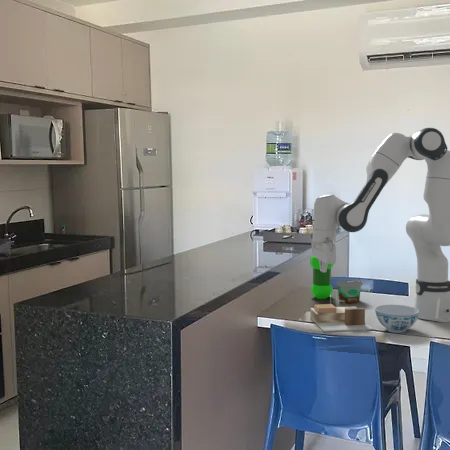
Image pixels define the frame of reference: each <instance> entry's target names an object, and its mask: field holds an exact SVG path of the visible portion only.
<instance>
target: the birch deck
mask: <svg viewBox="0 0 450 450" xmlns="http://www.w3.org/2000/svg"><path fill="white" fill-rule="evenodd" d="M335 307H336V308H337V312H334V313H318V312H317V311H316V310H315V309H314V307H310V309H309V311H310V312H309V313H310V315H309V316H310V317H309V318H310V319H311V320H312V321H313V323H314V324H316V323H329V322H345V308H358V307H357V306H356V305H355V306H335Z"/></svg>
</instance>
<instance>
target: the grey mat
mask: <svg viewBox="0 0 450 450" xmlns="http://www.w3.org/2000/svg"><path fill="white" fill-rule="evenodd" d="M315 324H316V326H317V327H318V328H320V330H321V331H322V332H324V333H327V332H328V333H330V332H331V333H332V332H353V331H354V332H355V331H356V332H358V331H373V330H374V329H373V327H372V326H370V325H369V324H368V323H366V322H365V325H349V326H346V325H345V322H329V323H315Z"/></svg>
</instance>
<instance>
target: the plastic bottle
mask: <svg viewBox="0 0 450 450" xmlns="http://www.w3.org/2000/svg"><path fill="white" fill-rule="evenodd" d="M309 262H310V266H311V267H312V284H311V287H310V292H311V294H312V295H313V296H314V297H315V298H316V299H317V300H326V299H328V298H329V297H331V295H332V294H333V292H334V288H333V286H332V268H333V267H334V265H335V264H328V266H327V272H321V271H320V264H319V259H317V258H315V257H313V255H311V257H310V259H309Z"/></svg>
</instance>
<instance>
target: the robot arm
mask: <svg viewBox="0 0 450 450" xmlns="http://www.w3.org/2000/svg"><path fill="white" fill-rule="evenodd" d="M408 158H409V159H412V160H415V161H423V160H424V161H425V163H426V165H427V170H426V171H427V172H426V177H425V182H424V183H425V184H424V189H423V190H424V191H423V201H425V202H426V204H427V207H428V212H429V214H418V215H414V216H412V217H410V218H409V219H407V222H406V224H405V231H406V234H407V235H408V237H409V239H410V240H411V242H412V244H413V248H414V250H415V255H416V263H417V267H416V268H417V271H416V272H417V273H416V279H415V302H414V306H413V308H416V309H418V310H419V315H418V318H417V319H421V320H425V321H426V320H427V321H435V322H439V323H449V322H450V280H449V260H448V258H447V257H446V255H445V254H444V252H443V251H442V250H443V249H442V247H450V150H448V145H447V144H446V139H445V137H444V135H443V133H442V131H440V129H437V128H434V127H425V128H423V129H420V130H417V131H416V132H414V133H413V134H411V135H410V136H406V135H405V134H403V133H400V132H392V133H390V134H389V135H388V136H386V138H385V139H384V140H383V141H382V142H381V143H380V144H379V146H378V147H377V148H376V149H375V151H374V152H373V154H372V155H371V156H370V159H369V161H368V163H367V165H366V169H365V170H366V181H365V184H364V185H363V186H362V189H361V190H360V191H359V193H358V195H357V196H356V198H355V199H354V200H353V201H352V202H351V203H349V202H346V201H344V200H342V199H341V198H339V197H337V196H336V194H324V195H319V196H318V197H316V199H315V201H314V204H313V205H314V206H313V215H312V217H313V221H314V222H313V227H312V232H311V233H310V239H311V254H312V256H313V257H315V258H317V259H319V264H320V271H321V272H327V266H328V264H334V265H335V264H336V262H337V250H336V249H337V247H336V244H335V243H334V242H337V241H336V240H337V227H338V228H339V227H340V228H342V230H344V231H346V232H349V233H357V232H359V231H361V230H363V228H364V227H366V224H367V221H368V218H369V213H370V209H372V206H373V205H374V203H375V201H376V200H377V199H378V197H379V196H380V194H381V192H382V191H383V188H384V187H385V186H386V185H387V184H388V183H389V181H391V179H392V178H393V177H394V176H395V174H396V173H397V172H398V170H399V169H400V168H401V166H402V165H403V163H404V162H405V160H407V159H408Z"/></svg>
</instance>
